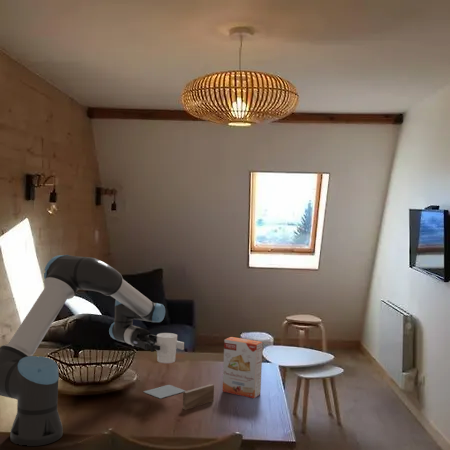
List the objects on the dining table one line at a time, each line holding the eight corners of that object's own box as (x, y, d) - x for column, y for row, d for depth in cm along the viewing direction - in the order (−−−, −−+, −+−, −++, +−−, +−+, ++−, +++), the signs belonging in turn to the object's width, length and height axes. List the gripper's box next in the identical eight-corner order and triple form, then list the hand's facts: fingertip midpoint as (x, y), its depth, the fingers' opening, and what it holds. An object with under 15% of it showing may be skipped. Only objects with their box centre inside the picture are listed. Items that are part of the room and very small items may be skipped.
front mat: (186, 391, 221) (186, 390, 221) (160, 398, 211) (160, 398, 211) (169, 385, 228) (169, 384, 228) (143, 392, 218) (143, 391, 218)
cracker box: (221, 392, 222) (223, 338, 221) (228, 388, 227) (230, 335, 226) (254, 399, 215) (256, 344, 214) (261, 394, 220) (263, 341, 220)
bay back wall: (213, 400, 211) (214, 384, 211) (185, 409, 201) (186, 392, 201) (210, 399, 212) (211, 383, 212) (182, 408, 202) (183, 391, 202)
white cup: (173, 364, 214) (173, 338, 214) (153, 362, 216) (153, 336, 216) (179, 359, 222) (179, 333, 222) (159, 357, 224) (160, 332, 223)
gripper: (157, 342, 239) (194, 353, 223) (116, 350, 224) (153, 362, 208) (157, 324, 238) (195, 334, 223) (117, 331, 224) (154, 342, 208)
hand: (175, 347), depth 215 cm, fingers closed on white cup, 8 cm apart
